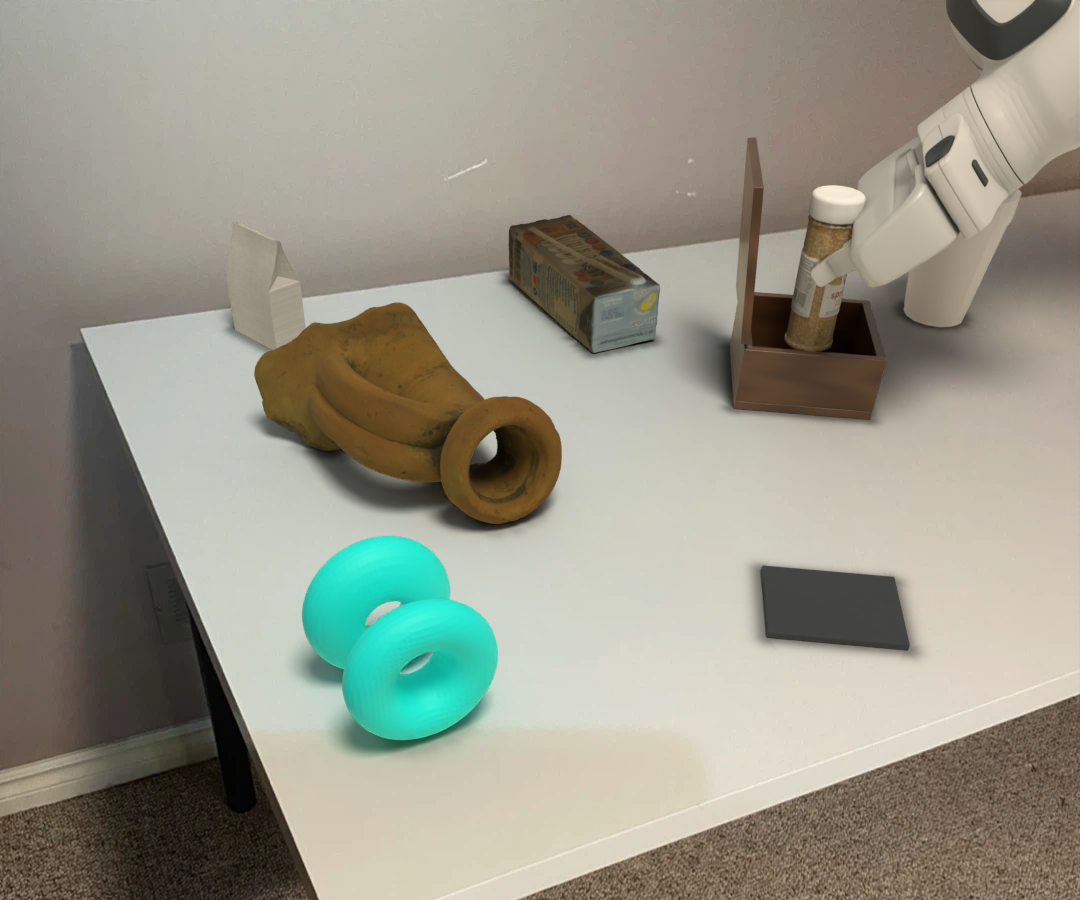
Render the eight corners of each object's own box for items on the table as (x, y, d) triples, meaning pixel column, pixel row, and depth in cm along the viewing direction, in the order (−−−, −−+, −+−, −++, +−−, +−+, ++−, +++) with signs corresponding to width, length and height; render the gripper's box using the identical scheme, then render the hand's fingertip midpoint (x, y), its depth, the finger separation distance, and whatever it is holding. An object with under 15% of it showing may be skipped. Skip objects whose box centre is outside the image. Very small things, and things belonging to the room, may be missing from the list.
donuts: (440, 629, 76) (436, 510, 69) (505, 719, 70) (507, 598, 62) (305, 671, 72) (285, 550, 65) (360, 770, 66) (345, 648, 59)
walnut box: (855, 357, 108) (869, 300, 104) (870, 419, 99) (886, 360, 95) (729, 347, 108) (739, 290, 104) (733, 409, 100) (744, 349, 95)
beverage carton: (588, 356, 106) (593, 290, 101) (504, 281, 118) (505, 219, 113) (657, 342, 109) (665, 277, 104) (568, 270, 120) (571, 209, 116)
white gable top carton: (277, 352, 104) (262, 248, 97) (235, 330, 107) (217, 226, 100) (307, 340, 106) (294, 237, 99) (265, 318, 109) (249, 217, 102)
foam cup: (927, 288, 120) (964, 164, 111) (995, 320, 115) (1040, 192, 106) (871, 308, 116) (904, 180, 107) (939, 341, 111) (980, 210, 102)
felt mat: (892, 581, 82) (894, 576, 81) (908, 650, 76) (910, 645, 76) (761, 570, 82) (762, 565, 82) (766, 637, 76) (767, 632, 76)
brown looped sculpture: (466, 304, 96) (593, 371, 80) (439, 445, 102) (552, 533, 86) (264, 269, 86) (363, 337, 71) (247, 427, 92) (334, 523, 76)
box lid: (756, 137, 95) (747, 137, 95) (763, 186, 86) (753, 187, 86) (744, 285, 104) (735, 286, 104) (749, 344, 95) (740, 344, 95)
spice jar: (835, 356, 99) (871, 202, 89) (785, 353, 99) (816, 200, 90) (827, 334, 102) (861, 184, 93) (779, 331, 102) (809, 181, 93)
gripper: (941, 92, 93) (805, 197, 102) (945, 166, 79) (786, 281, 87) (978, 154, 96) (842, 251, 104) (988, 235, 81) (830, 341, 90)
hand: (816, 265), depth 96 cm, fingers closed on spice jar, 4 cm apart
